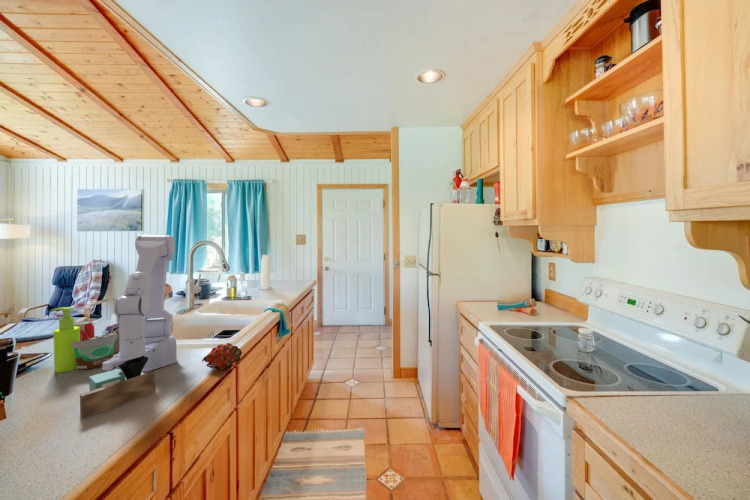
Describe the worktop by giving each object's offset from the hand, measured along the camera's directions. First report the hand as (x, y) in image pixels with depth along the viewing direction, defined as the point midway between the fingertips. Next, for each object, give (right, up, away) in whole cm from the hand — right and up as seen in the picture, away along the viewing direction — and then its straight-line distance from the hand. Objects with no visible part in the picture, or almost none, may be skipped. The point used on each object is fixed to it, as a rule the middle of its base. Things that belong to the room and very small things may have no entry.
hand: (133, 384), depth 85 cm
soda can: (-37, 0, +22) cm, 43 cm away
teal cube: (-3, -2, -4) cm, 6 cm away
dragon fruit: (+18, -2, +15) cm, 23 cm away
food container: (-23, -1, +15) cm, 27 cm away
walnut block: (+3, -2, -7) cm, 8 cm away
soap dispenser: (-32, -1, +12) cm, 34 cm away
